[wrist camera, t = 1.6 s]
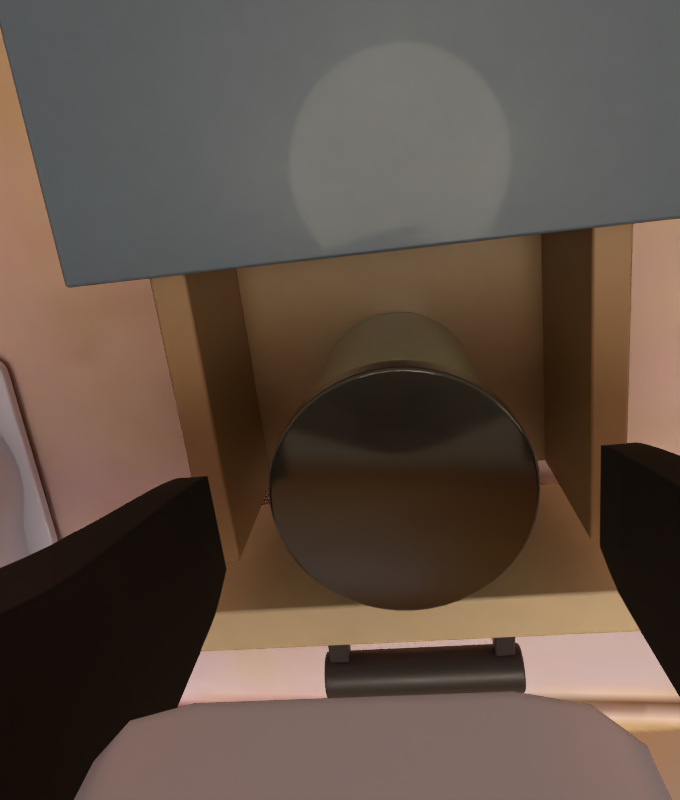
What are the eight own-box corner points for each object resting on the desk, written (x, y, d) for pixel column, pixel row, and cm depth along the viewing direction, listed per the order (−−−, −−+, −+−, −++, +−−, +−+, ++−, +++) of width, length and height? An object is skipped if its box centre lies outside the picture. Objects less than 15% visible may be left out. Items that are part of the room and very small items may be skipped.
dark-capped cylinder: (490, 462, 19) (543, 605, 13) (321, 475, 20) (288, 618, 13) (482, 291, 17) (538, 354, 11) (298, 311, 18) (247, 381, 11)
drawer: (584, 620, 22) (649, 765, 16) (264, 635, 23) (226, 775, 18) (587, 54, 16) (687, -12, 11) (167, 114, 18) (66, 81, 12)
